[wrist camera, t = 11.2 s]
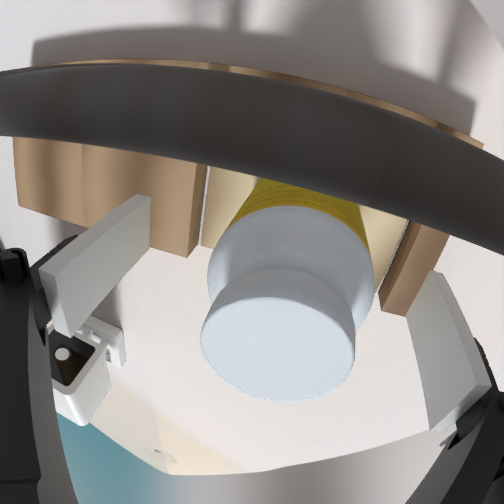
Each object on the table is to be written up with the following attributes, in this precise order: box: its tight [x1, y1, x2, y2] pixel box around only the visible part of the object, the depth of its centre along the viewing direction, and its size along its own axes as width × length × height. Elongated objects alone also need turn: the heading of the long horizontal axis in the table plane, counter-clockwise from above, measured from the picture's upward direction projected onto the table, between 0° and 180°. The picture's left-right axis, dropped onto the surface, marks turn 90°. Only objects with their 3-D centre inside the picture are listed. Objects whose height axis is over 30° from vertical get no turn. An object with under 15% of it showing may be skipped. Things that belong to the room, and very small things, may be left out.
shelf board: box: [0, 59, 504, 317], centre depth 12 cm, size 32×12×16 cm, turn 80°
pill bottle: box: [201, 178, 375, 402], centre depth 14 cm, size 6×6×12 cm
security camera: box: [48, 315, 126, 426], centre depth 26 cm, size 6×7×10 cm
